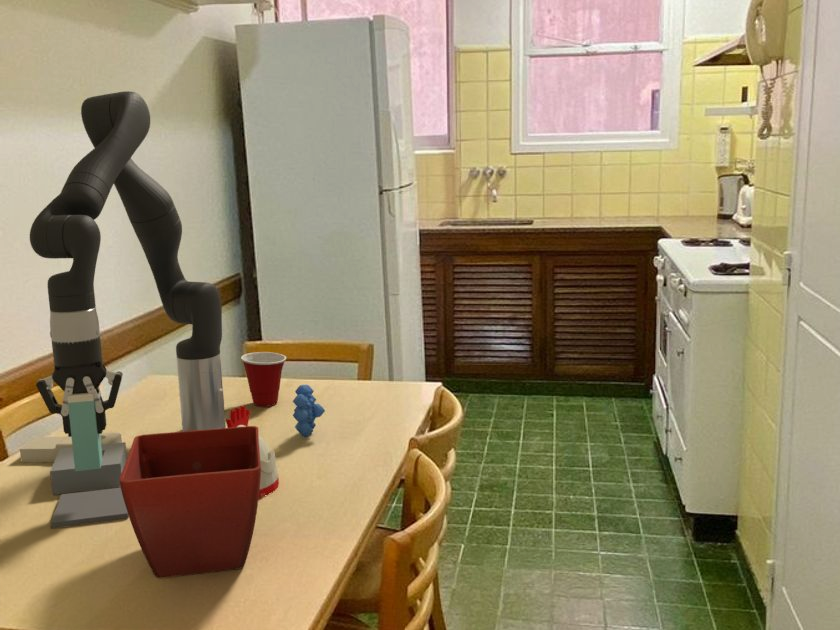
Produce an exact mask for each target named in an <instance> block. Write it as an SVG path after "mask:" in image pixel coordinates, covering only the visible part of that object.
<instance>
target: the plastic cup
mask: <svg viewBox="0 0 840 630" xmlns="http://www.w3.org/2000/svg"><path fill="white" fill-rule="evenodd" d="M240 359H241V361H242V363H243V366H244V371H245V372H246V373H245V374H246V377H247V384H248V387H249V391H250V395H251V399H252V403H253V405H254V406H255V407H259V408H260V407H262V408H263V407H264V408H265V407H266V408H267V407H270V406H271V407H272V406H275V405H277V404H278V402H279V401H278V400H279V392H280V389H281V388H280V387H281V381H282V379H281V378H282V372H283V371H282V370H283V367H284V365H285V362H286V361H287V356H286V355H284V354H281V353H277V352H270V351H257V352H256V351H255V352H250V353H245V354H243V355H241V358H240Z"/></svg>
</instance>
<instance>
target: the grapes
mask: <svg viewBox="0 0 840 630" xmlns="http://www.w3.org/2000/svg"><path fill="white" fill-rule="evenodd" d="M314 391H315V390H314V389H313V388H312V387H311V386H310V385H309V384H301V385H299V386H298V387H297V388H296V390H295V391H294V392H295V394H296V396H295V397H294V399H293V400H292V403H293V404H294V405H295V406H296V407H295V408H294V410H293V414H292V417H293V418H294V419H295V420H296V422H297V423H296V424H295V426H294V428H295V429H296V431H297V432H298V433H299V434H300V436H302V438H309V437H310V436H311V435H312V433H314V428H315V427H316V426H317V425H316V423H315V421H316V418H320V417H321V416H322V415H323V414H324V413H325V411H326V410H325V409H324V407H323V406H322V405H321V404H319V403H316V401H317V399H316V397H315V396H314V395H313V393H314Z"/></svg>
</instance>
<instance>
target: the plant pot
mask: <svg viewBox="0 0 840 630" xmlns="http://www.w3.org/2000/svg"><path fill="white" fill-rule="evenodd" d="M259 431H260V430H259V426H256V425H250V426H249V425H248V426H244V427H232V428H227V427H226V428H219V429H207V430H195V431H183V430H182V431H173V432H172V431H171V432H161V433H160V432H159V433H149V434H148V433H147V434H141V435H140V434H139V435H136V436H135V437H134V438H133V441H132V444H131V447H130V448H129V449H130V450H129V452H128V455H127V460H126V463H125V466H124V468H123V471H122V473H121V476H120V478H119V482H120V487H119V488H121V491H122V495H123V499H124V502H125V505H126V509H127V512H128V515H129V516H128V519H129V521H130V523H131V526H132V529H133V532H134V534H135V538H136V539H137V542H138V545H139V546H140V548H141V551H142V553H143V555H144V558H145V559H146V562H147V564H148V565H149V568H150V569H151V571H152V573H153V575H154V576H155V577H157V578H160V579H161V578H171V577H172V578H173V577H179V576H187V575H189V576H190V575H197V574H207V573H213V572H214V573H215V572H221V571H222V572H223V571H232V570H239V569H242V568H243V567H244V566H245V565H246V562H247V559H248V555H249V551H250V547H251V544H252V540H253V535H254V529H255V527H256V526H255V525H256V524H255V523H256V520H257V513H258V507H259V499H260V498H259V490H260V479H261V459H260V448H259V435H260V434H259ZM258 498H259V499H258Z"/></svg>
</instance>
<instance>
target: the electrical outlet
mask: <svg viewBox="0 0 840 630" xmlns="http://www.w3.org/2000/svg"><path fill="white" fill-rule="evenodd" d="M100 436H101V445H103V444H113V443H122V442H123V441H122V433H121V432H102V434H100ZM65 448H73V446H72V437H69V436H68V435H67V436H37V437H35V438H34V439H32V440H30V441H29V442H28V443H26V444H25V445H24V446H22V447H20V448H19V453H20V462H21V463H38V462H39V463H48V462H49V463H54V462H55V460H56V457H57V455H58V453H59V451H60V449H65Z"/></svg>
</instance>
